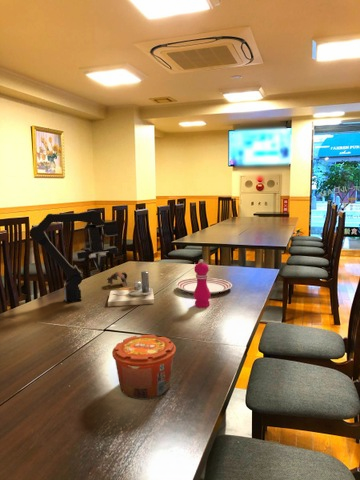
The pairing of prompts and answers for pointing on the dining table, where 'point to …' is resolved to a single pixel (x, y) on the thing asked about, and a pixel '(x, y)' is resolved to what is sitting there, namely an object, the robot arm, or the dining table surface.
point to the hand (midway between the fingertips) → (99, 270)
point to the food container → (144, 365)
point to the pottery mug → (114, 277)
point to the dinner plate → (212, 284)
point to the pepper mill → (202, 285)
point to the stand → (129, 298)
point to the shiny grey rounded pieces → (140, 286)
